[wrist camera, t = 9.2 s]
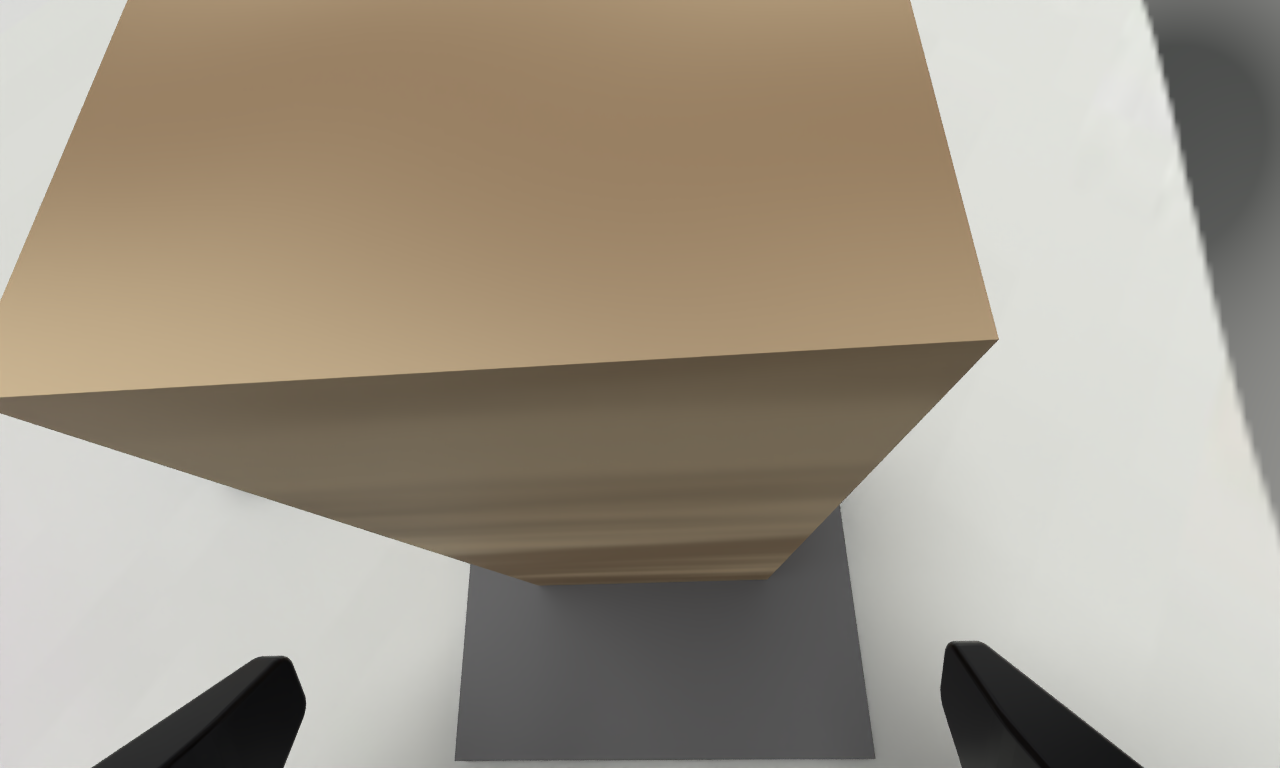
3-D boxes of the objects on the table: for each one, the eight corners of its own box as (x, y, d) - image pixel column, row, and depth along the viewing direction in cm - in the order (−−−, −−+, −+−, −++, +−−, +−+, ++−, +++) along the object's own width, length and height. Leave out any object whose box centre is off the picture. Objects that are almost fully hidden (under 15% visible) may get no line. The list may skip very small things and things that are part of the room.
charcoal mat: (869, 754, 15) (875, 759, 14) (463, 756, 16) (454, 760, 15) (816, 370, 19) (819, 363, 18) (491, 389, 20) (485, 382, 19)
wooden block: (767, 579, 16) (998, 339, 3) (538, 585, 17) (-44, 400, 4) (755, 448, 17) (885, -90, 5) (544, 458, 18) (128, -2, 5)
